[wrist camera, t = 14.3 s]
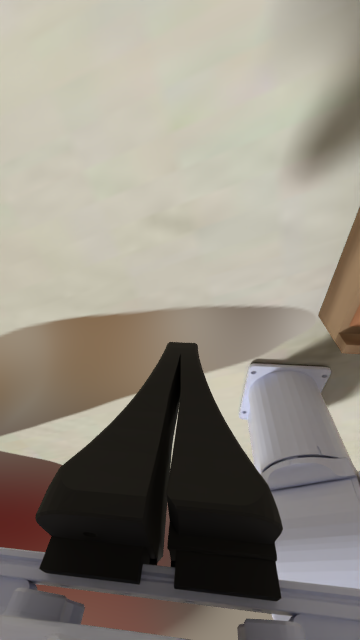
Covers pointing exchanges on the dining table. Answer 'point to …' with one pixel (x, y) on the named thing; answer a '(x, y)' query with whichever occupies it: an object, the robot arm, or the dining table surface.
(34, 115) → the dining table surface
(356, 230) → the case
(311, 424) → the robot arm
